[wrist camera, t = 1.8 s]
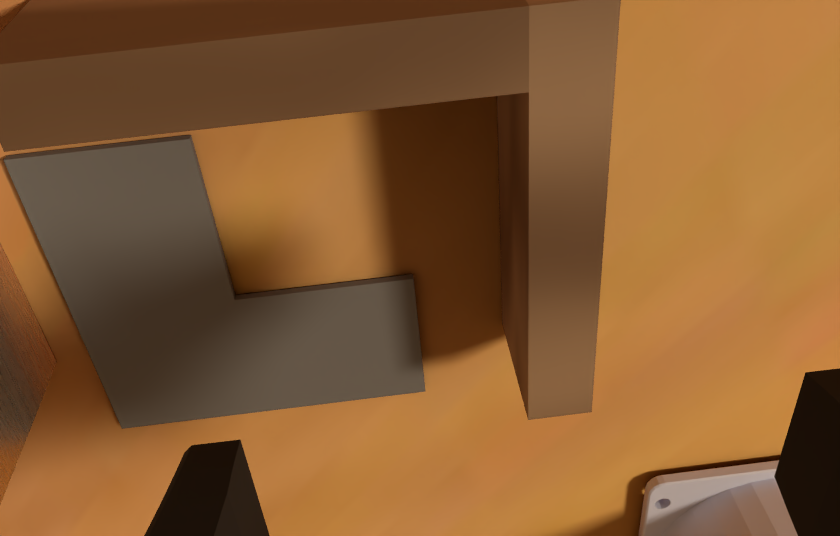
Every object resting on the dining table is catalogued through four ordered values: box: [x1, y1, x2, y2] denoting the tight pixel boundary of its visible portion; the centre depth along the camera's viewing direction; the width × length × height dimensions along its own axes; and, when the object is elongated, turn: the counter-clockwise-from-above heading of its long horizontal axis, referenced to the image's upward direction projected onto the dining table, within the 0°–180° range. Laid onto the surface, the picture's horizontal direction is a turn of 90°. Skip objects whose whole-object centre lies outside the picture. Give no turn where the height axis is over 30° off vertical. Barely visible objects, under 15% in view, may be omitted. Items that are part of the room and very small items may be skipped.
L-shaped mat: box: [4, 135, 425, 429], centre depth 20 cm, size 8×8×1 cm
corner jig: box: [0, 0, 621, 420], centre depth 17 cm, size 10×10×4 cm
